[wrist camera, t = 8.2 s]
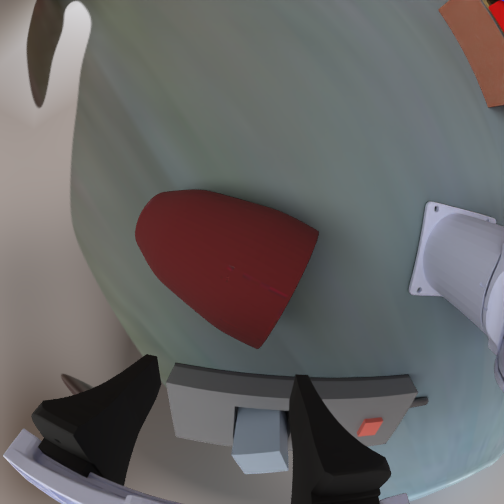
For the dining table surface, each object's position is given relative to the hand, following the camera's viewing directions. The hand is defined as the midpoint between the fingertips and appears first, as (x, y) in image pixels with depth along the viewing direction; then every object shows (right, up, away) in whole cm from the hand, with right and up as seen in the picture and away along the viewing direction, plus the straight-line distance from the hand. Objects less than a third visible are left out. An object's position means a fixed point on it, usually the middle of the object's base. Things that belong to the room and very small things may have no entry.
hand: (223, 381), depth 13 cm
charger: (+3, -9, +12) cm, 15 cm away
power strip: (+8, -10, +12) cm, 17 cm away
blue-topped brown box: (+31, +29, 0) cm, 43 cm away
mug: (-6, +8, +6) cm, 11 cm away
